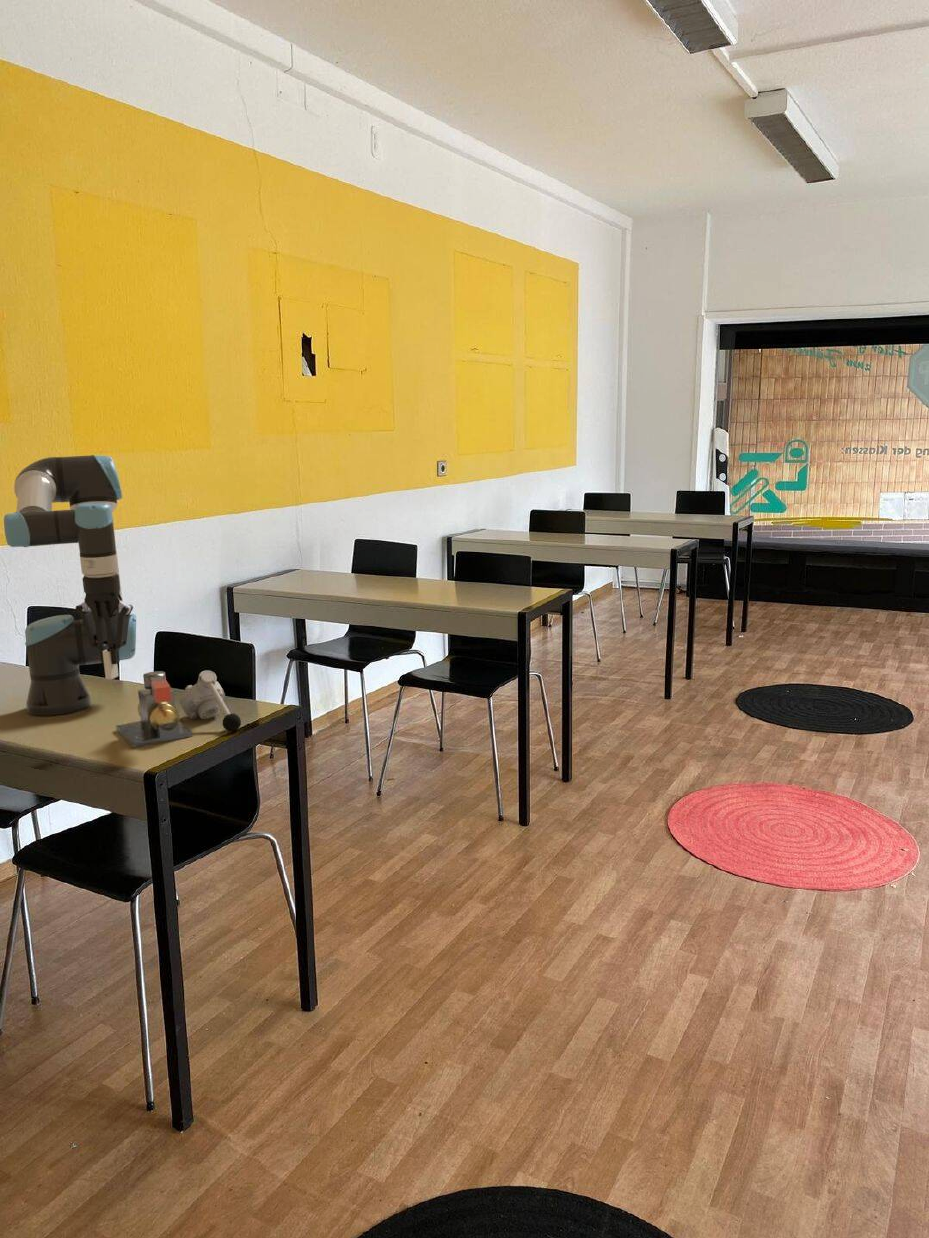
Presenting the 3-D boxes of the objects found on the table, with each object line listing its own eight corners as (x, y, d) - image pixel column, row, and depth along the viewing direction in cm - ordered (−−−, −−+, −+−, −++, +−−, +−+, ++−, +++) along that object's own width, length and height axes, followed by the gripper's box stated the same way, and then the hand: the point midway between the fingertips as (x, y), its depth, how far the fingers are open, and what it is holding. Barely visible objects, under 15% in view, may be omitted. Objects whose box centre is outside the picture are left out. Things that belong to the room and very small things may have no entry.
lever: (152, 703, 203) (151, 689, 202) (143, 686, 217) (141, 672, 217) (175, 700, 205) (174, 686, 204) (164, 683, 219) (163, 669, 219)
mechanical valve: (214, 697, 236) (224, 660, 225) (246, 753, 228) (257, 717, 218) (175, 708, 230) (183, 671, 219) (206, 766, 222) (216, 731, 212)
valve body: (116, 730, 221) (111, 685, 218) (171, 719, 228) (167, 675, 225) (134, 748, 207) (128, 700, 205) (192, 736, 214) (187, 689, 212)
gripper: (63, 576, 203) (76, 681, 208) (117, 578, 200) (129, 683, 206) (84, 570, 210) (96, 671, 215) (136, 571, 207) (147, 673, 213)
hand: (112, 677), depth 211 cm, fingers closed
